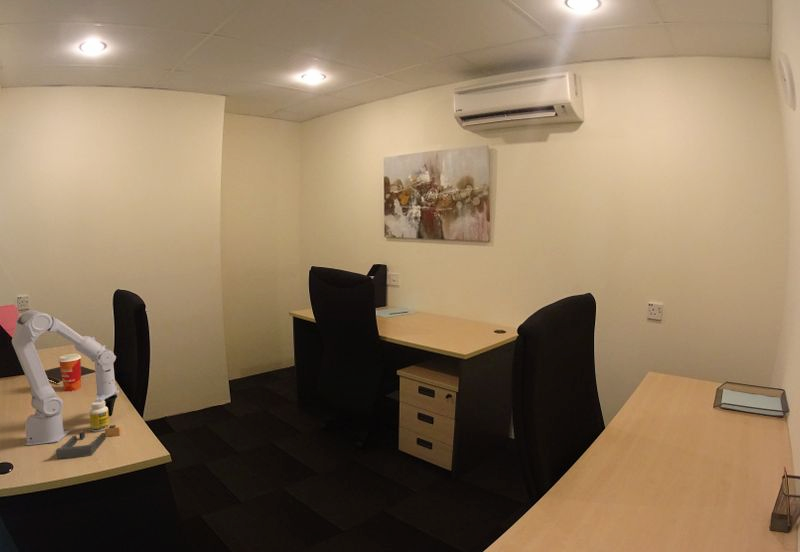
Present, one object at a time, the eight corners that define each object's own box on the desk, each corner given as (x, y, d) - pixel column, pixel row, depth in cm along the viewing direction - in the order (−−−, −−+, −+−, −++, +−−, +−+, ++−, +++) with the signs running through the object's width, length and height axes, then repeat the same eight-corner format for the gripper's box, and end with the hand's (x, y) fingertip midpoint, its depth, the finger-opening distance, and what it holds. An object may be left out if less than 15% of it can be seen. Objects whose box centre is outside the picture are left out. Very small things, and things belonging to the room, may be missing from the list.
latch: (105, 436, 153) (104, 427, 152) (106, 435, 154) (105, 425, 154) (119, 435, 154) (118, 425, 154) (120, 433, 155) (120, 424, 155)
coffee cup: (56, 390, 195) (53, 357, 194) (76, 384, 203) (73, 352, 201) (69, 393, 192) (65, 359, 190) (88, 386, 200) (85, 354, 198)
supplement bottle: (100, 432, 156) (98, 406, 155) (87, 431, 157) (84, 404, 156) (113, 426, 161) (110, 400, 160) (100, 424, 162) (98, 398, 161)
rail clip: (56, 459, 138) (56, 450, 138) (77, 437, 152) (76, 429, 152) (91, 455, 141) (90, 446, 140) (109, 434, 154) (108, 426, 154)
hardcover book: (73, 367, 228) (73, 363, 228) (96, 375, 216) (96, 370, 216) (35, 377, 214) (35, 372, 214) (58, 386, 203) (58, 381, 202)
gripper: (110, 386, 159) (113, 422, 160) (124, 373, 173) (127, 406, 174) (87, 388, 157) (91, 425, 159) (103, 374, 171) (106, 408, 173)
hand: (108, 415), depth 166 cm, fingers closed
